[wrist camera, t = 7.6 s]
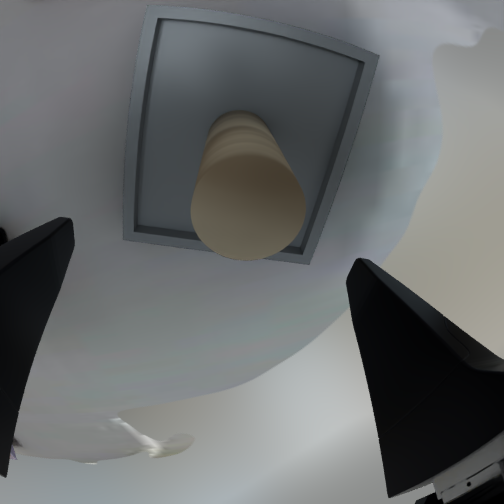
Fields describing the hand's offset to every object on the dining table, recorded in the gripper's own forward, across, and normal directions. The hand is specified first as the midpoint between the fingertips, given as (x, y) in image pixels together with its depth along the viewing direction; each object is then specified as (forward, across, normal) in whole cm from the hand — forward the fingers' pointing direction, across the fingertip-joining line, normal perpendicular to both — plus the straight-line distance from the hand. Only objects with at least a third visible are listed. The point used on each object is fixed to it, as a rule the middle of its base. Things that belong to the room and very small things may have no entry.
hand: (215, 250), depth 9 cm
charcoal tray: (+13, -1, 0) cm, 13 cm away
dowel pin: (+12, -1, 0) cm, 12 cm away
